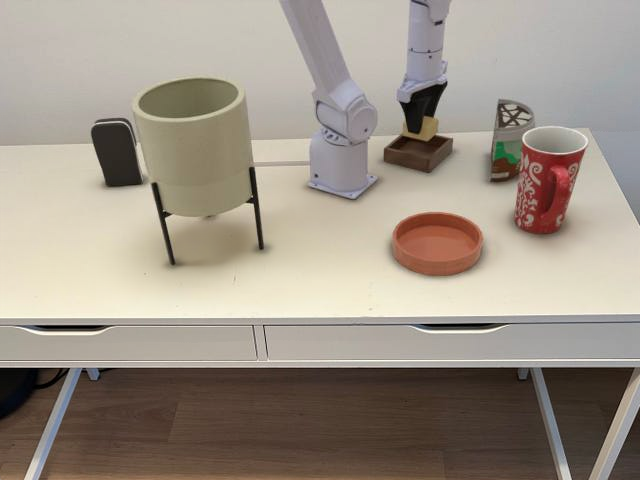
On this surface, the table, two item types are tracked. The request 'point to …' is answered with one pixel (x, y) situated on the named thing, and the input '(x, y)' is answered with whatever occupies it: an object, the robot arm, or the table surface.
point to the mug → (547, 177)
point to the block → (423, 129)
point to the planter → (197, 148)
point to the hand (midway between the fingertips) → (419, 127)
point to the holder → (418, 152)
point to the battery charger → (116, 151)
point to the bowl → (437, 243)
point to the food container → (509, 138)
